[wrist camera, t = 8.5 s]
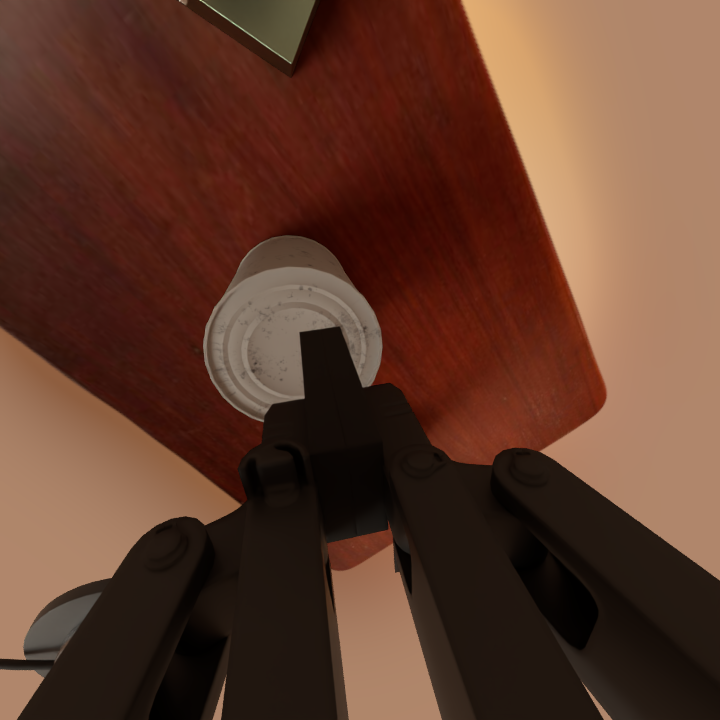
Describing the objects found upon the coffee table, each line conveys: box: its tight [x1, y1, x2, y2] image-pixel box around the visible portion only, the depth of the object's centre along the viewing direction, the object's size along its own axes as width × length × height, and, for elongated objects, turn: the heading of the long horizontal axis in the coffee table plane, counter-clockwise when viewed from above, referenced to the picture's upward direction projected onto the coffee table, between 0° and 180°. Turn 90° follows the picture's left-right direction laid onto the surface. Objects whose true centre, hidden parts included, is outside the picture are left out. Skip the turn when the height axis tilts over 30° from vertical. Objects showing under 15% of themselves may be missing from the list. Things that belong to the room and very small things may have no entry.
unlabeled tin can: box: [203, 235, 383, 422], centre depth 24 cm, size 10×10×12 cm
